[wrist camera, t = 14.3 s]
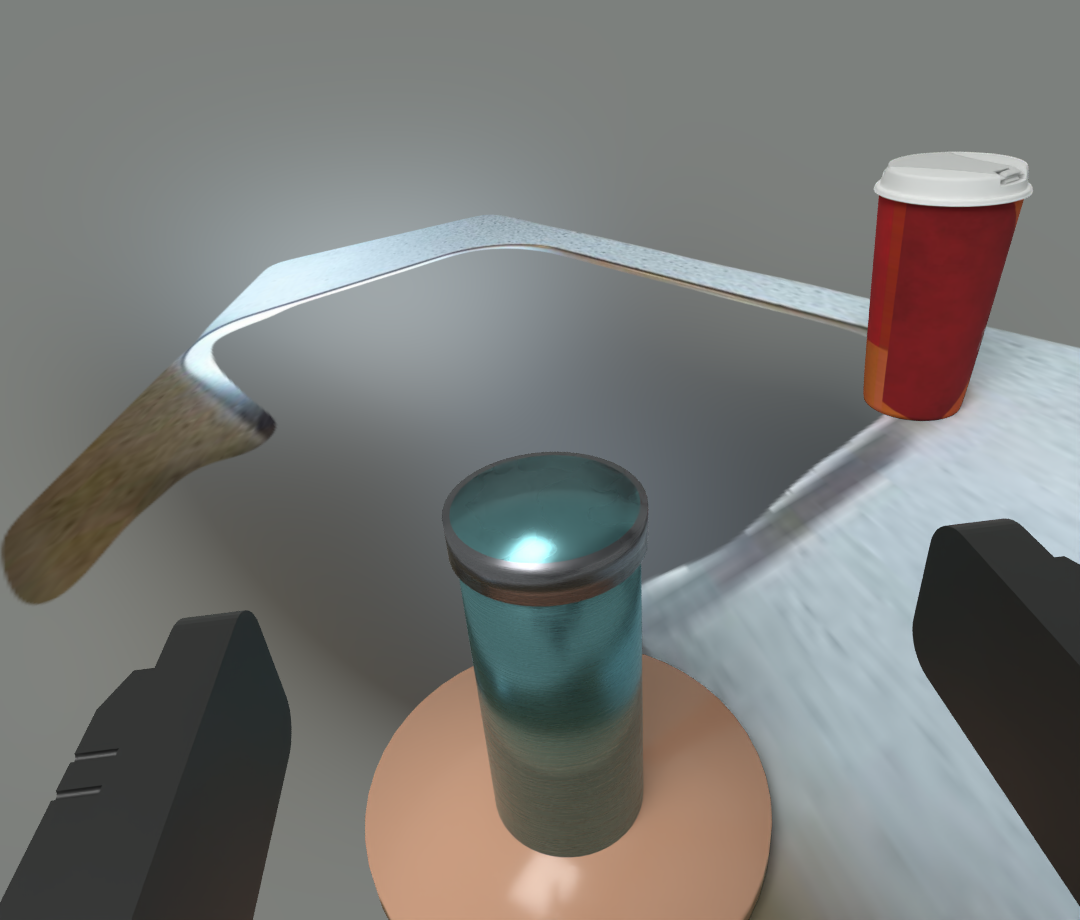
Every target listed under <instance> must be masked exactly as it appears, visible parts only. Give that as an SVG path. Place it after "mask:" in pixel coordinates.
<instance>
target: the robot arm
mask: <svg viewBox="0 0 1080 920" xmlns="http://www.w3.org/2000/svg"><path fill="white" fill-rule="evenodd" d="M912 631H913V641H914V647H915V651H916V654H917V658H918V660H919V663H920V665H921V667H922V669H923V671H924V673H925V675H926V677H927V678H928V680H929V681H930V683H931V684H932V686H933V687H934V689H935V690H936V692H937V693H938V695H939V696H940V698H941V699H942V701H943V702H944V704H945V705H946V707H947V708H948V710H949V711H950V713H951V714H952V716H953V717H954V719H955V720H956V722H957V723H958V725H959V726H960V728H961V729H962V731H963V732H964V734H965V735H966V737H967V738H968V740H969V741H970V743H971V744H972V746H973V747H974V748H975V750H976V751H977V753H978V754H979V756H980V757H981V759H982V760H983V762H984V763H985V765H986V766H987V768H988V769H989V771H990V772H991V774H992V775H993V777H994V778H995V780H996V781H997V783H998V784H999V786H1000V787H1001V789H1002V790H1003V792H1004V793H1005V795H1006V796H1007V798H1008V799H1009V801H1010V802H1011V804H1012V805H1013V807H1014V808H1015V810H1016V811H1017V813H1018V814H1019V816H1020V817H1021V819H1022V820H1023V822H1024V823H1025V825H1026V826H1027V828H1028V829H1029V831H1030V832H1031V834H1032V835H1033V837H1034V838H1035V840H1036V841H1037V843H1038V844H1039V846H1040V847H1041V849H1042V850H1043V852H1044V853H1045V855H1046V856H1047V858H1048V859H1049V861H1050V862H1051V864H1052V865H1053V867H1054V868H1055V870H1056V871H1057V873H1058V874H1059V876H1060V877H1061V879H1062V880H1063V882H1064V883H1065V885H1066V886H1067V888H1068V889H1069V891H1070V892H1071V894H1072V895H1073V897H1074V898H1075V900H1076V901H1077V903H1078V904H1079V906H1080V564H1078V563H1076V562H1074V561H1072V560H1070V559H1069V558H1067V557H1065V556H1062V557H1053V556H1052V555H1051V554H1050V553H1049V552H1048V551H1047V550H1046V549H1045V548H1044V547H1043V546H1042V545H1041V544H1040V543H1039V542H1038V541H1037V540H1036V539H1035V538H1034V537H1033V536H1032V535H1031V534H1030V533H1029V532H1028V531H1027V530H1026V529H1025V528H1024V527H1022V526H1021V525H1020V524H1019V523H1017V522H1015V521H1014V520H1011V519H997V520H989V521H981V522H973V523H965V524H957V525H948V526H943V527H940V528H939V529H937V530H936V532H935V533H934V535H933V537H932V539H931V543H930V547H929V552H928V556H927V561H926V565H925V570H924V574H923V579H922V583H921V588H920V592H919V597H918V601H917V606H916V610H915V615H914V619H913V630H912ZM290 747H291V716H290V709H289V704H288V701H287V697H286V695H285V692H284V689H283V687H282V684H281V681H280V679H279V676H278V673H277V671H276V668H275V666H274V663H273V661H272V657H271V655H270V652H269V650H268V647H267V644H266V642H265V639H264V636H263V634H262V631H261V628H260V626H259V623H258V621H257V619H256V617H255V616H254V614H253V613H252V612H250V611H246V610H245V611H237V612H229V613H221V614H213V615H205V616H196V617H188V618H183V619H180V620H179V621H178V622H177V623H176V624H175V625H174V627H173V629H172V630H171V632H170V635H169V637H168V639H167V642H166V644H165V646H164V648H163V650H162V653H161V655H160V657H159V659H158V662H157V664H156V666H155V668H151V669H143V670H135V671H133V672H132V673H131V674H130V675H129V676H128V677H127V678H126V679H125V681H124V682H123V683H122V684H121V685H120V686H119V687H118V688H117V689H116V690H115V691H114V692H113V693H112V694H111V695H110V696H109V697H108V698H107V700H106V701H105V702H104V703H103V704H102V705H101V706H100V707H99V708H98V709H97V710H96V712H95V714H94V716H93V718H92V720H91V722H90V724H89V726H88V728H87V730H86V732H85V734H84V736H83V738H82V740H81V742H80V744H79V746H78V748H77V750H76V752H75V762H72V763H70V764H69V766H68V768H67V770H66V772H65V774H64V776H63V778H62V780H61V782H60V784H59V786H58V788H57V790H56V792H57V798H56V800H54V801H51V802H50V804H49V806H48V808H47V810H46V812H45V814H44V816H43V818H42V820H41V822H40V824H39V826H38V828H37V830H36V832H35V834H34V836H33V838H32V840H31V842H30V844H29V846H28V848H27V850H26V852H25V854H24V856H23V858H22V860H21V862H20V864H19V866H18V868H17V870H16V872H15V874H14V876H13V878H12V880H11V882H10V884H9V886H8V888H7V890H6V892H5V894H4V896H3V898H2V901H1V902H0V920H253V916H254V912H255V907H256V903H257V898H258V894H259V889H260V885H261V880H262V875H263V871H264V867H265V861H266V858H267V853H268V849H269V844H270V840H271V835H272V831H273V826H274V822H275V817H276V813H277V808H278V804H279V799H280V795H281V790H282V786H283V781H284V776H285V772H286V768H287V763H288V759H289V754H290Z"/></svg>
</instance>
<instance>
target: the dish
mask: <svg viewBox="0 0 1080 920" xmlns="http://www.w3.org/2000/svg"><path fill="white" fill-rule="evenodd" d="M642 701H643V801H642V805H641V809H640V812H639V814H638V816H637V818H636V820H635V822H634V823H633V825H632V827H631V828H630V829H629V830H628V831H627V833H626V834H625V835H624V836H622V837H621V838H620V839H619V840H618V841H616V842H615V843H614V844H612V845H611V846H609V847H607V848H605V849H603V850H601V851H599V852H596V853H593V854H590V855H585V856H580V857H555V856H549V855H546V854H542V853H539V852H537V851H534V850H532V849H530V848H528V847H527V846H525V845H523V844H522V843H521V842H519V841H518V840H517V839H515V838H514V837H513V835H512V834H511V833H510V832H509V831H508V830H507V828H506V827H505V826H504V824H503V822H502V820H501V818H500V816H499V814H498V811H497V807H496V802H495V795H494V789H493V783H492V777H491V771H490V765H489V758H488V752H487V746H486V740H485V734H484V728H483V721H482V715H481V709H480V703H479V697H478V691H477V684H476V678H475V672H474V666H473V667H471V668H469V669H467V670H465V671H463V672H461V673H459V674H458V675H456V676H455V677H453V678H452V679H450V680H449V681H447V682H446V683H444V684H443V685H441V686H440V687H439V688H438V689H436V690H435V691H434V692H433V693H431V694H430V695H429V696H428V697H427V698H425V699H424V700H423V701H422V702H421V703H420V704H419V705H418V706H417V707H416V708H415V709H414V710H413V712H411V713H410V714H409V716H408V717H407V718H406V719H405V721H404V722H403V723H402V725H401V726H400V727H399V728H398V730H397V731H396V732H395V734H394V736H393V737H392V739H391V741H390V742H389V744H388V746H387V747H386V749H385V751H384V753H383V755H382V757H381V759H380V762H379V764H378V766H377V769H376V771H375V774H374V777H373V781H372V784H371V788H370V791H369V795H368V802H367V809H366V816H365V841H366V848H367V855H368V861H369V867H370V870H371V873H372V876H373V879H374V882H375V886H376V889H377V891H378V895H379V898H380V901H381V904H382V908H383V910H384V912H385V914H386V916H387V918H388V919H389V920H749V918H750V916H751V914H752V912H753V909H754V907H755V905H756V902H757V900H758V897H759V895H760V893H761V889H762V885H763V881H764V878H765V874H766V870H767V865H768V857H769V849H770V838H771V828H772V815H771V798H770V794H769V789H768V784H767V779H766V775H765V772H764V769H763V767H762V764H761V761H760V759H759V756H758V753H757V751H756V750H755V748H754V746H753V744H752V742H751V740H750V738H749V736H748V734H747V733H746V731H745V730H744V729H743V727H742V726H741V724H740V723H739V722H738V720H737V719H736V717H735V716H734V715H733V714H732V713H731V712H730V711H729V709H728V708H727V707H726V706H725V705H724V704H723V703H722V702H721V701H720V700H719V699H718V698H717V697H716V696H715V695H714V694H712V693H711V692H710V691H709V690H708V689H707V688H705V687H704V686H703V685H702V684H700V683H699V682H697V681H696V680H694V679H693V678H691V677H690V676H688V675H687V674H685V673H684V672H682V671H680V670H678V669H676V668H674V667H672V666H670V665H669V664H667V663H665V662H662V661H660V660H657V659H655V658H652V657H650V656H647V655H644V654H642Z"/></svg>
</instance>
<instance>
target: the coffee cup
mask: <svg viewBox="0 0 1080 920" xmlns="http://www.w3.org/2000/svg"><path fill="white" fill-rule="evenodd" d="M1028 171H1029V167H1028V165H1027V163H1026V162H1025V161H1023V160H1021V159H1018V158H1015V157H1011V156H1005V155H998V154H991V153H978V152H936V153H922V154H914V155H908V156H903V157H900V158H896V159H893V160H891V161H890V162H889V165H888V167H887V168H886V169H885V170H884V173H883V176H882V178H881V180H879V181H878V182H876V184H875V186H874V192H875V193H876V194H878V195H879V202H878V213H877V225H876V237H875V249H874V260H873V272H872V284H871V296H870V308H869V320H868V332H867V345H866V359H865V373H864V400H865V401H866V403H867V404H868V405H869V406H870V407H872V408H873V409H875V410H876V411H878V412H881V413H883V414H886V415H889V416H892V417H896V418H900V419H906V420H916V421H930V420H939V419H944V418H947V417H950V416H952V415H954V414H955V413H957V412H958V410H959V409H960V407H961V404H962V402H963V399H964V396H965V393H966V390H967V387H968V384H969V381H970V378H971V374H972V371H973V368H974V364H975V361H976V358H977V355H978V351H979V348H980V345H981V341H982V338H983V335H984V331H985V328H986V325H987V321H988V318H989V315H990V311H991V308H992V305H993V301H994V298H995V294H996V291H997V287H998V285H999V281H1000V278H1001V274H1002V271H1003V268H1004V264H1005V261H1006V257H1007V254H1008V251H1009V247H1010V244H1011V241H1012V237H1013V233H1014V231H1015V227H1016V224H1017V220H1018V217H1019V214H1020V210H1021V207H1022V203H1023V200H1024V199H1025V198H1027V197H1029V196H1030V195H1031V194H1032V193H1033V188H1032V185H1031V184H1030V183H1029V182H1028Z"/></svg>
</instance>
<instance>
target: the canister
mask: <svg viewBox="0 0 1080 920" xmlns="http://www.w3.org/2000/svg"><path fill="white" fill-rule="evenodd" d="M442 521H443V527H444V533H445V539H446V545H447V551H448V557H449V562H450V564H451V567H452V569H453V571H454V572H455V574H456V575H457V576H458V578H459V579H460V585H461V592H462V598H463V604H464V610H465V616H466V623H467V629H468V635H469V641H470V647H471V653H472V660H473V666H474V672H475V678H476V684H477V691H478V697H479V703H480V709H481V715H482V721H483V728H484V734H485V740H486V746H487V752H488V758H489V765H490V771H491V777H492V783H493V789H494V795H495V802H496V807H497V811H498V814H499V816H500V818H501V820H502V822H503V824H504V826H505V827H506V828H507V830H508V831H509V832H510V833H511V834H512V835H513V837H514V838H515V839H517V840H518V841H519V842H521V843H522V844H523V845H525V846H527V847H528V848H530V849H532V850H534V851H537V852H539V853H542V854H546V855H549V856H555V857H580V856H585V855H590V854H593V853H596V852H599V851H601V850H603V849H605V848H607V847H609V846H611V845H612V844H614V843H615V842H616V841H618V840H619V839H620V838H621V837H622V836H624V835H625V834H626V833H627V831H628V830H629V829H630V828H631V827H632V825H633V823H634V822H635V820H636V818H637V816H638V814H639V812H640V809H641V805H642V801H643V701H642V604H641V562H642V560H643V559H644V557H645V554H646V551H647V546H648V500H647V495H646V492H645V490H644V488H643V486H642V485H641V483H640V482H639V481H638V480H637V479H636V477H634V476H633V475H632V474H631V473H630V472H628V471H627V470H626V469H624V468H622V467H621V466H618V465H617V464H615V463H612V462H610V461H607V460H604V459H601V458H598V457H594V456H590V455H585V454H579V453H570V452H541V453H531V454H525V455H519V456H515V457H511V458H507V459H504V460H501V461H498V462H495V463H493V464H490V465H488V466H485V467H483V468H481V469H479V470H477V471H476V472H474V473H472V474H471V475H469V476H468V477H466V478H465V479H464V480H463V481H461V482H460V483H459V484H458V485H457V486H456V487H455V488H454V489H453V490H452V492H451V493H450V494H449V496H448V497H447V499H446V501H445V504H444V507H443V510H442Z"/></svg>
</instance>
